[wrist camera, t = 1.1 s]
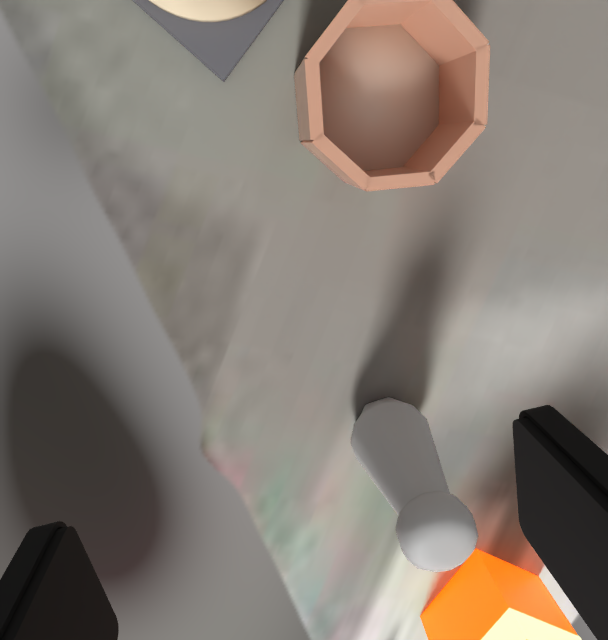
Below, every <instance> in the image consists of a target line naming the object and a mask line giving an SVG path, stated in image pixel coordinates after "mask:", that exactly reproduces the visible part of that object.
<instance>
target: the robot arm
mask: <svg viewBox="0 0 608 640" xmlns="http://www.w3.org/2000/svg"><path fill="white" fill-rule="evenodd" d="M513 439H514V454H515V469H516V484H517V499H518V514H519V522H520V526H521V529H522V531H523V533H524V535H525V537H526V539H527V540H528V541H529V543H530V544H531V546H532V547H533V549H534V550H535V551H536V553H537V554H538V556H539V557H540V559H541V560H542V561H543V563H544V564H545V566H546V567H547V569H548V570H549V571H550V573H551V574H552V576H553V577H554V578H555V580H556V581H557V583H558V584H559V586H560V587H561V588H562V590H563V591H564V593H565V594H566V596H567V597H568V598H569V600H570V601H571V603H572V604H573V606H574V607H575V608H576V610H577V611H578V613H579V614H580V616H581V617H582V618H583V620H584V621H585V623H586V624H587V626H588V627H589V628H590V630H591V631H592V633H593V634H594V636H595V637H596V638H597V640H608V455H607V454H606V453H605V452H604V451H603V450H601V449H600V448H599V447H598V446H597V445H596V444H594V443H593V442H592V441H591V440H590V439H589V438H588V437H586V436H585V435H584V434H583V433H582V432H581V431H580V430H578V429H577V428H576V427H575V426H574V425H573V424H572V423H570V422H569V421H568V420H567V419H566V418H565V417H563V416H562V415H561V414H560V413H559V412H558V411H557V410H555V409H554V408H553V407H551V406H550V405H545V406H541V407H537V408H532V409H528V410H524V411H522V412H520V415H519V419H517V420H514V421H513ZM117 638H118V621H117V618H116V615H115V613H114V611H113V609H112V607H111V604H110V602H109V600H108V598H107V596H106V594H105V592H104V589H103V587H102V585H101V583H100V581H99V579H98V577H97V575H96V572H95V570H94V568H93V566H92V564H91V562H90V559H89V557H88V555H87V553H86V551H85V549H84V547H83V544H82V542H81V540H80V538H79V536H78V534H77V532H76V530H75V529H74V528H73V527H72V526H69V527H67V526H66V524H65V523H63V522H54V523H50V524H47V525H42V526H38V527H34V528H32V529H30V530H29V531H28V533H27V534H26V536H25V538H24V539H23V541H22V543H21V545H20V547H19V548H18V550H17V552H16V553H15V555H14V557H13V558H12V560H11V562H10V564H9V565H8V567H7V569H6V571H5V573H4V574H3V576H2V578H1V580H0V640H117Z"/></svg>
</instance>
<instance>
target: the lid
mask: <svg viewBox="0 0 608 640" xmlns="http://www.w3.org/2000/svg"><path fill="white" fill-rule="evenodd" d="M149 1H150V2H151V3H152V4H154V5H156V6H157V7H159V8H161V9H162V10H164V11H166V12H168V13H170V14H173V15H175V16H177V17H181V18H184V19H187V20H192V21H198V22H221V21H228V20H232V19H235V18H238V17H241V16H243V15H245V14H247V13H250V12H252V11H253V10H255V9H256V8H258V7H259V6H261V5H262V4H264V3H265V2H266V1H267V0H149Z"/></svg>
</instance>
